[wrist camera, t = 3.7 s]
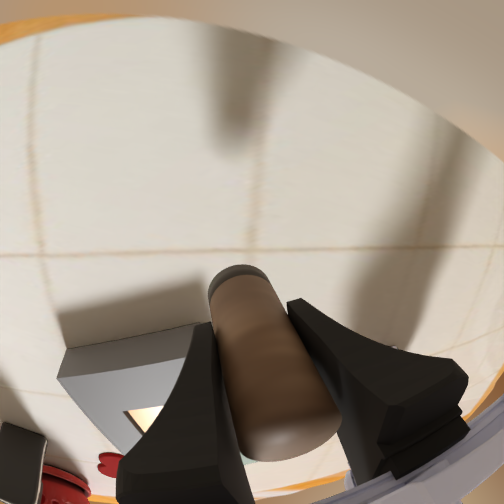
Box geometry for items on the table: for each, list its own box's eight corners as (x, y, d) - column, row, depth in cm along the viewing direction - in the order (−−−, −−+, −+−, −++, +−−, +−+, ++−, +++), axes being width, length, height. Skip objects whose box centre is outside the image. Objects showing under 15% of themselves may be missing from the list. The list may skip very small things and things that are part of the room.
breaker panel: (199, 322, 22) (203, 353, 19) (235, 420, 29) (242, 446, 25) (66, 349, 21) (56, 378, 18) (132, 437, 27) (131, 462, 24)
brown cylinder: (265, 257, 14) (345, 390, 7) (273, 310, 15) (339, 441, 8) (201, 273, 14) (227, 426, 6) (215, 324, 15) (248, 469, 8)
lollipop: (211, 464, 33) (99, 446, 28) (212, 470, 32) (99, 452, 27) (194, 484, 35) (97, 469, 30) (195, 489, 35) (97, 474, 29)
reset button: (171, 392, 22) (171, 403, 21) (186, 418, 24) (187, 428, 23) (128, 399, 22) (127, 410, 21) (146, 424, 24) (146, 434, 23)
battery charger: (8, 433, 24) (-8, 500, 14) (1, 419, 23) (-19, 489, 13) (52, 448, 26) (42, 519, 16) (46, 435, 25) (34, 511, 15)
